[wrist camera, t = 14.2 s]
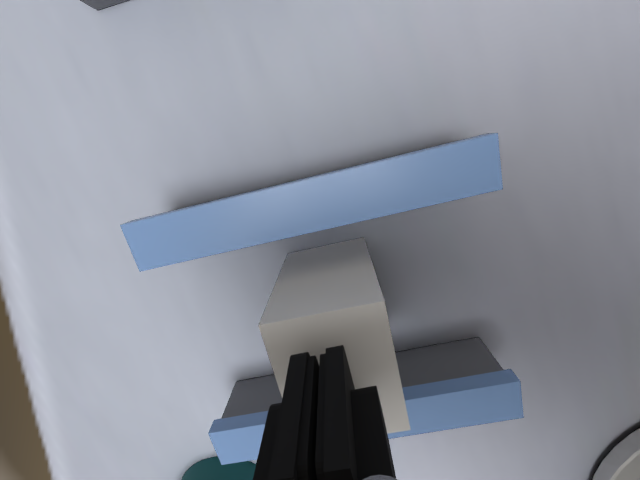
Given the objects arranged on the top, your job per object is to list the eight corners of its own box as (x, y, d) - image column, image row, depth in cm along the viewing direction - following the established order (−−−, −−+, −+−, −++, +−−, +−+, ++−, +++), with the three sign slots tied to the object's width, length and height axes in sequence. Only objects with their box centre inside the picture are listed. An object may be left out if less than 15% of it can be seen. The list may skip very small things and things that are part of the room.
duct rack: (367, -599, 10) (388, -1061, 6) (485, 363, 18) (523, 417, 15) (-59, -393, 11) (-254, -658, 7) (241, 405, 20) (221, 464, 16)
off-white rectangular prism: (363, 237, 17) (384, 300, 10) (381, 322, 18) (410, 429, 11) (287, 253, 17) (258, 325, 10) (310, 336, 18) (298, 447, 12)
